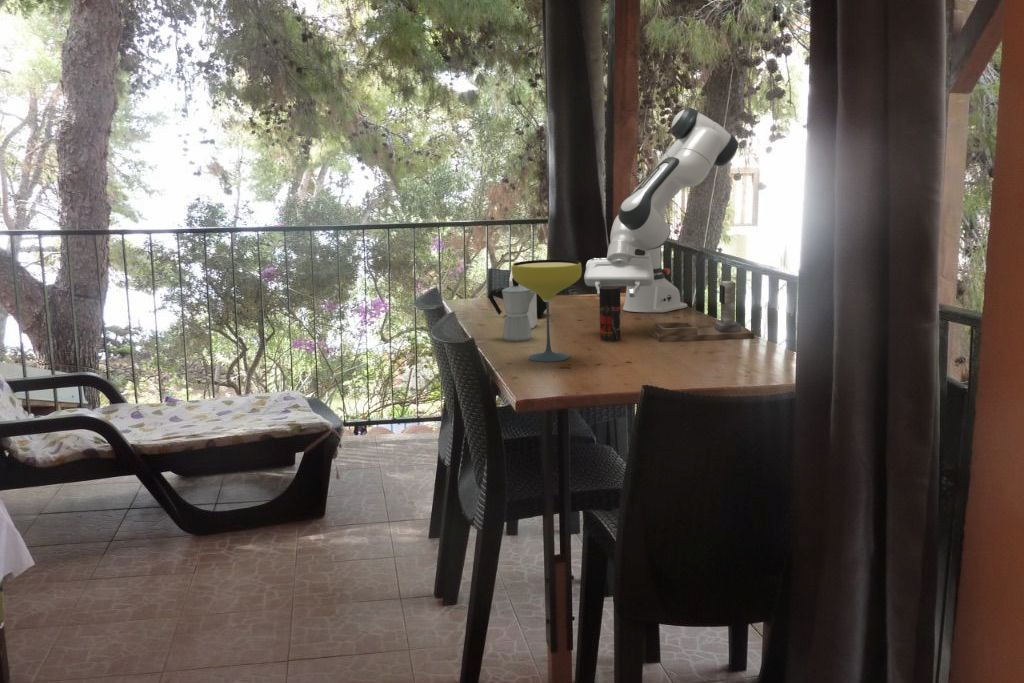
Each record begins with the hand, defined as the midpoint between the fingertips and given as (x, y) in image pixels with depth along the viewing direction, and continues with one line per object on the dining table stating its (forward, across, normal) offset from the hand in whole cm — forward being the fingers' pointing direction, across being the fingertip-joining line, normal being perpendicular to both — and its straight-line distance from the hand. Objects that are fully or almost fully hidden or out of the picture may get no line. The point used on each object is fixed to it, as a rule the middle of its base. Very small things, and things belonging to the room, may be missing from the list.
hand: (616, 295), depth 278 cm
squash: (-14, -36, +31) cm, 50 cm away
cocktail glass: (+31, -12, -13) cm, 36 cm away
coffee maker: (+13, -29, +4) cm, 32 cm away
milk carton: (0, -32, +17) cm, 36 cm away
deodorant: (+11, -1, +6) cm, 13 cm away
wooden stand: (+5, +24, +12) cm, 27 cm away
